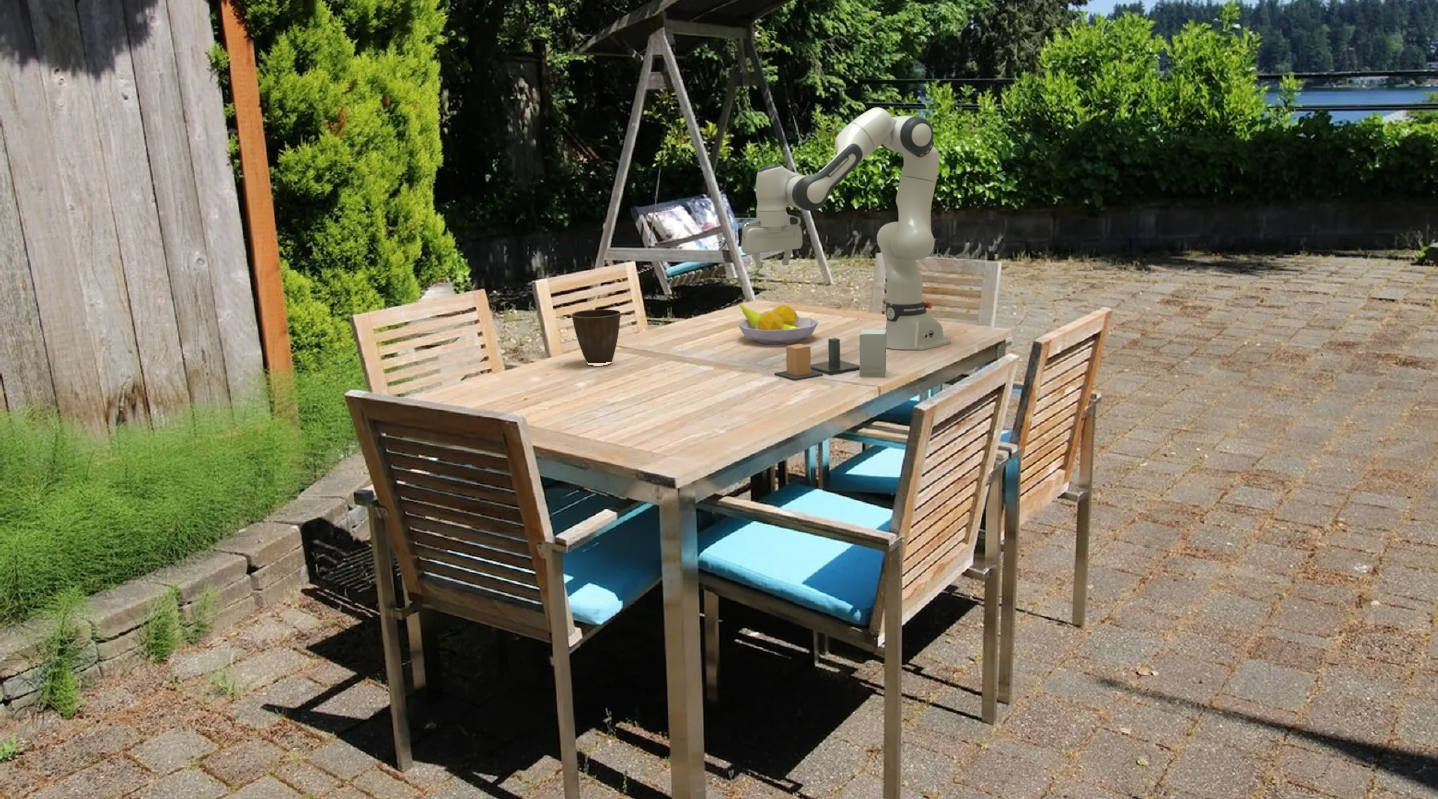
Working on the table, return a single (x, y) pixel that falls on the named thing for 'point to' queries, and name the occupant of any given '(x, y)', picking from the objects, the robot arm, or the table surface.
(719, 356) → the table surface
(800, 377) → the mat
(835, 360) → the post stand
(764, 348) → the table surface
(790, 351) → the tan rectangular pillar
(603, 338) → the plant pot
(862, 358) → the supplement box
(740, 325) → the fruit bowl
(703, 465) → the table surface
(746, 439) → the table surface
